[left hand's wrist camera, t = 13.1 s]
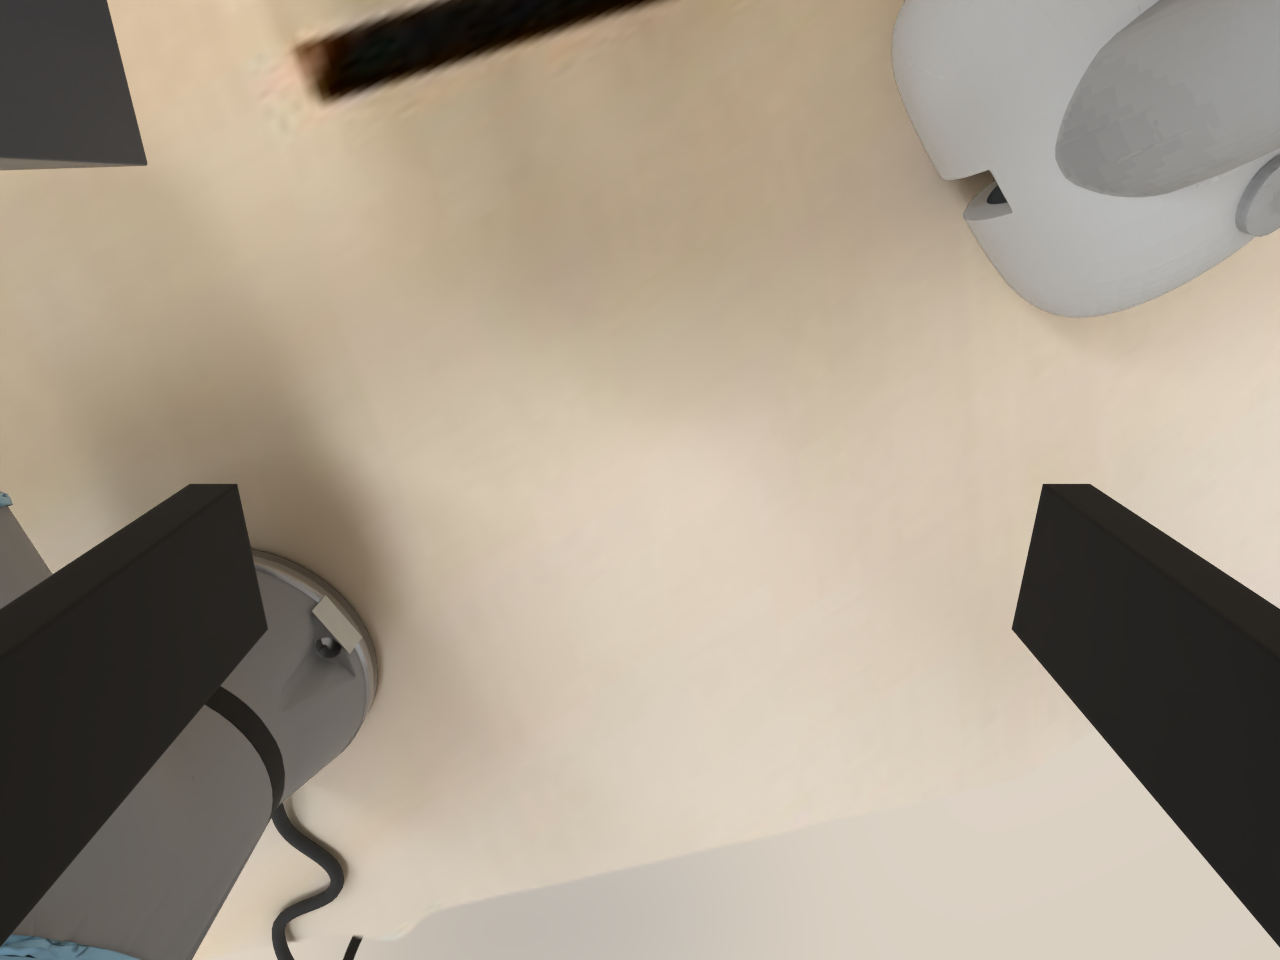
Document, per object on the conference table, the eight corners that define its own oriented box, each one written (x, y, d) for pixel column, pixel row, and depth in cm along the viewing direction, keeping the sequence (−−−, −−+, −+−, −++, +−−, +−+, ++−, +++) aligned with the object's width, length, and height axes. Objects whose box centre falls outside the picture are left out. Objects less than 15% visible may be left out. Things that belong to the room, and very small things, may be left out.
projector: (1277, 323, 37) (1643, 402, 24) (826, 286, 37) (936, 345, 23) (1498, -242, 29) (2251, -618, 16) (924, -303, 28) (1185, -751, 15)
